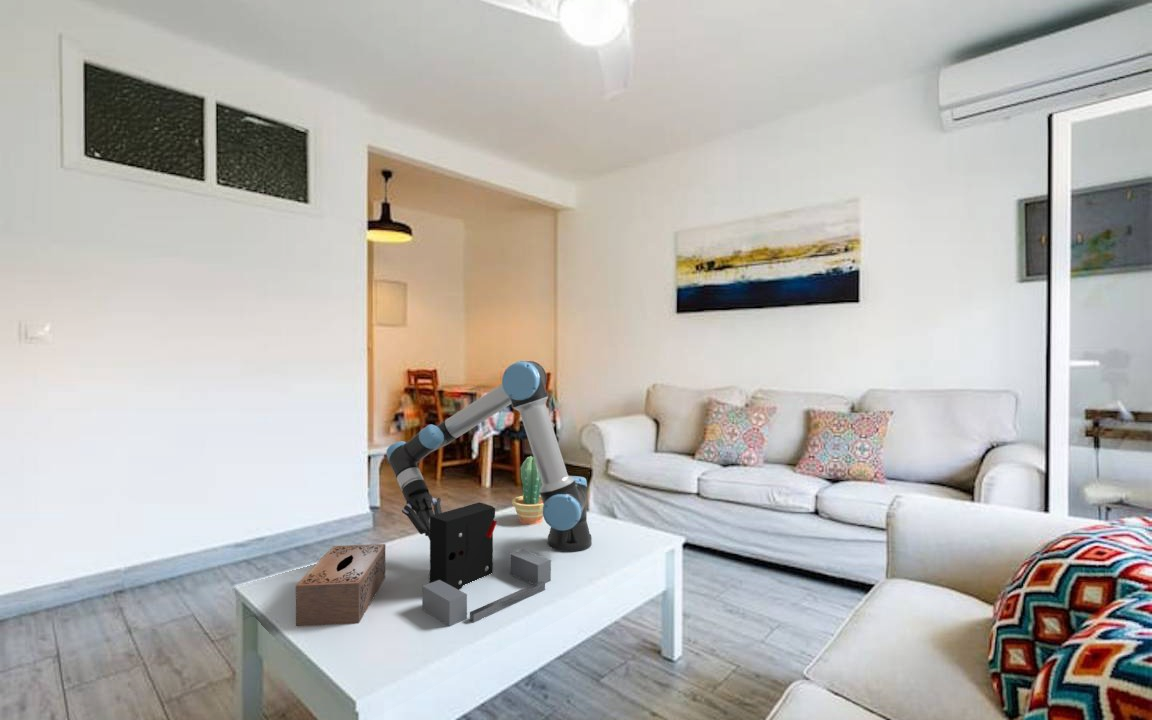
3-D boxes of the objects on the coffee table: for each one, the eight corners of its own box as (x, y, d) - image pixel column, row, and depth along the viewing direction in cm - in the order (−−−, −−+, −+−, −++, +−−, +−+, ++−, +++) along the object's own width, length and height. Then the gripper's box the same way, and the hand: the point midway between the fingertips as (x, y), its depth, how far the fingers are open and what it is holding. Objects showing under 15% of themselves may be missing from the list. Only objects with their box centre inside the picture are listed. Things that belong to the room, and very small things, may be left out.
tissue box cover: (358, 624, 125) (358, 583, 125) (295, 627, 123) (295, 585, 123) (385, 578, 151) (385, 544, 151) (333, 580, 149) (333, 545, 149)
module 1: (439, 602, 136) (439, 579, 136) (466, 618, 127) (466, 594, 127) (422, 609, 132) (422, 585, 132) (449, 626, 124) (449, 601, 124)
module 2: (522, 569, 157) (522, 549, 157) (550, 580, 149) (550, 560, 149) (510, 574, 153) (510, 553, 153) (538, 586, 145) (538, 565, 145)
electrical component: (474, 566, 159) (474, 501, 159) (497, 575, 153) (497, 507, 153) (425, 585, 146) (425, 514, 145) (447, 596, 139) (447, 522, 139)
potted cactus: (536, 529, 192) (536, 462, 192) (503, 522, 200) (503, 457, 200) (558, 518, 206) (558, 455, 205) (526, 512, 214) (527, 451, 213)
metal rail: (541, 587, 144) (541, 580, 144) (545, 589, 143) (545, 582, 143) (469, 620, 127) (469, 612, 127) (473, 622, 126) (473, 614, 126)
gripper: (426, 488, 173) (455, 551, 162) (389, 496, 164) (417, 563, 153) (435, 475, 170) (465, 538, 159) (398, 482, 160) (427, 550, 149)
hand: (442, 550), depth 156 cm, fingers closed
